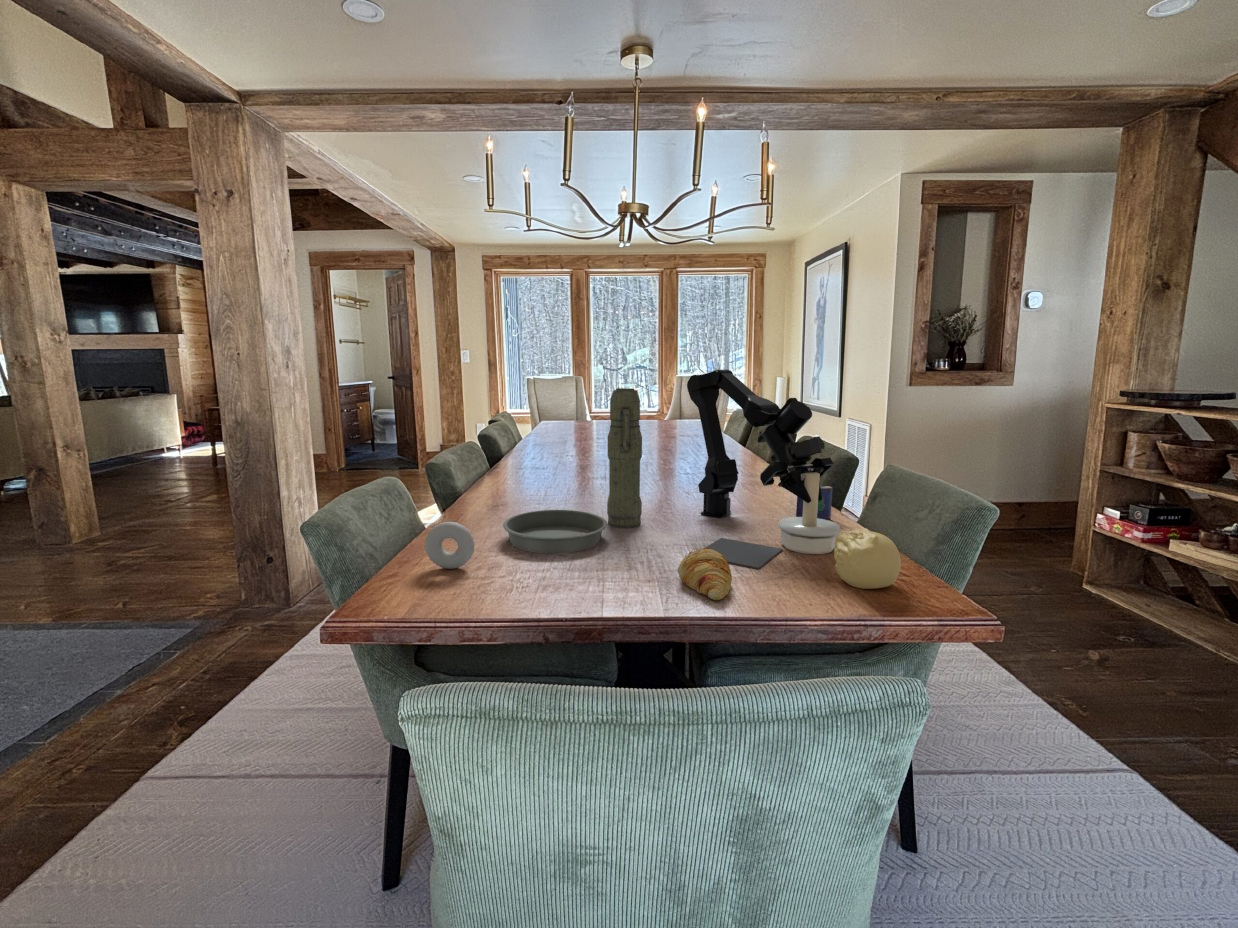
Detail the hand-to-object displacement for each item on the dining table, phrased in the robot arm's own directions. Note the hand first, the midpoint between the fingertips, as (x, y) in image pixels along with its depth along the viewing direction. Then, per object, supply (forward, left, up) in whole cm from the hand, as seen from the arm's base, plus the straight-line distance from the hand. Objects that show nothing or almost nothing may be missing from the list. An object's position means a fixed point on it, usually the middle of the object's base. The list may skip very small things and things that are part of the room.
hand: (815, 501), depth 140 cm
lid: (-1, +1, -7) cm, 7 cm away
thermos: (-47, -6, -11) cm, 49 cm away
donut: (-58, -55, -11) cm, 81 cm away
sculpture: (+15, -16, -11) cm, 25 cm away
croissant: (-11, -34, -11) cm, 37 cm away
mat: (-13, -13, -11) cm, 21 cm away
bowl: (-1, +1, -11) cm, 11 cm away
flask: (-7, +26, -11) cm, 29 cm away
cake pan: (-53, -27, -11) cm, 61 cm away
